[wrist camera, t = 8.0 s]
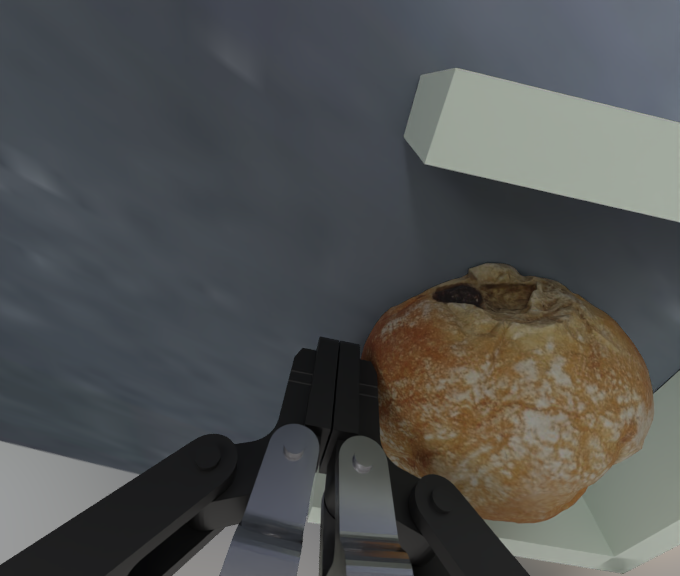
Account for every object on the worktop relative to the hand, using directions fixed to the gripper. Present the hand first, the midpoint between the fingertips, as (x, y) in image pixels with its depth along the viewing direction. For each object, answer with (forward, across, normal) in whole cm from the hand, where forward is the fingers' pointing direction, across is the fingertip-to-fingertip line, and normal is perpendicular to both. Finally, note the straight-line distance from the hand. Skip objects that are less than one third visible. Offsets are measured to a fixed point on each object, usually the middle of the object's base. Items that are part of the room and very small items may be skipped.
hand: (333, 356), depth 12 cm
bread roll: (+2, -7, +1) cm, 7 cm away
